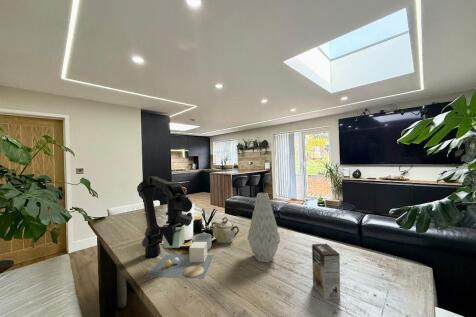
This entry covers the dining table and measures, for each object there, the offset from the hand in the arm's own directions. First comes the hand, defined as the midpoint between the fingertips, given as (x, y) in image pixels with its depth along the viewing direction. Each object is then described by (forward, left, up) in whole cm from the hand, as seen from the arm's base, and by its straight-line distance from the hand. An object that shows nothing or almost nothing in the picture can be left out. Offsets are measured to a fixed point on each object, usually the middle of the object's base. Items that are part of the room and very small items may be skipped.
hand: (174, 242), depth 95 cm
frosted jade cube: (0, 0, -1) cm, 1 cm away
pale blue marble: (0, +2, -11) cm, 11 cm away
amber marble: (-3, -1, -11) cm, 11 cm away
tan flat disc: (+10, -4, -11) cm, 16 cm away
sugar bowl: (+19, +32, -12) cm, 39 cm away
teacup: (+8, +20, -12) cm, 25 cm away
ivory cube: (+9, +8, -11) cm, 17 cm away
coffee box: (+64, -14, -12) cm, 67 cm away
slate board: (+3, +1, -12) cm, 12 cm away
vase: (+42, +11, -12) cm, 45 cm away
